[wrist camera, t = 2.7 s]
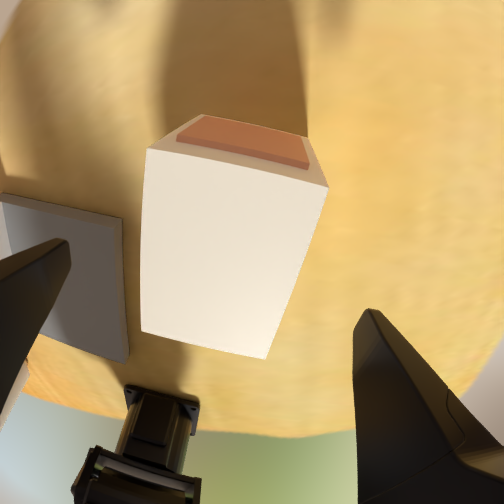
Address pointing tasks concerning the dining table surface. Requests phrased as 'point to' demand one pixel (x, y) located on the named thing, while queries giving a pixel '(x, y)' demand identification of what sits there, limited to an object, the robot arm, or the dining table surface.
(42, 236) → the grey drawer
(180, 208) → the carton
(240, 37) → the dining table surface
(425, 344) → the dining table surface
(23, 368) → the can
